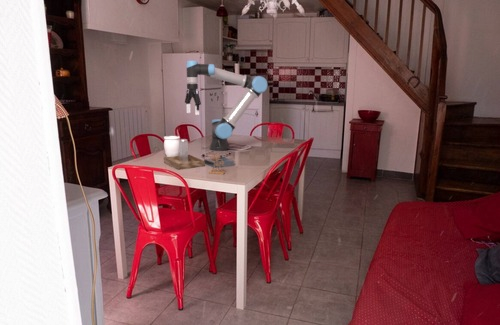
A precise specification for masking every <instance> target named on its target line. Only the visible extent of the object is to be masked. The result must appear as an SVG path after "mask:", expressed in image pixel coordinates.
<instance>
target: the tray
mask: <svg viewBox="0 0 500 325" xmlns="http://www.w3.org/2000/svg"><path fill="white" fill-rule="evenodd" d="M163 163H164V164H166V165H168V166H170V167H172V168H173V169H175V170H178V171H179V170H186V169H194V168H201V167H202V168H203V167H205V165H206V164H205V161H204V159H201V158H199V157H196V156H193V155H191V154H188V163H180V156H179V155H178V156H172V157H167V156H165V157H163Z"/></svg>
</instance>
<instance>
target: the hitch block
mask: <svg viewBox="0 0 500 325" xmlns="http://www.w3.org/2000/svg"><path fill="white" fill-rule="evenodd" d="M219 157H220V158H218V157H216V159H217V160H218V159H221V160H219V161H218V162H217V161H216V159H215V158H214V159H212V160H213V161H215V162H213V161H212V160H211V158H212V157H211V158H210V157H209V158H204V159H203V160H204V161H205V165H206V166H208V167H211V168H213V167H214V165H215V164H216V165H215V167H214V168H213V169H216V168H217V167H218V168H217V169H221V168H226V167H227V168H228V167H234V166H235V160H232V159H231V158H226V157H224V156H219ZM222 160H223V162H224V165H223V164H222V165H221V164H220V167H221V168H220V167H219V166H218V165H219V162H221V163H223V162H222ZM217 163H218V164H217Z"/></svg>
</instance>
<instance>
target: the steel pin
mask: <svg viewBox="0 0 500 325" xmlns="http://www.w3.org/2000/svg"><path fill="white" fill-rule="evenodd" d="M188 147H189V141H188V139H186V138H181V139H180V138H179V155H178V156H180V163H188V155H189V148H188Z"/></svg>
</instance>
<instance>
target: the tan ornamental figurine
mask: <svg viewBox="0 0 500 325" xmlns="http://www.w3.org/2000/svg"><path fill="white" fill-rule="evenodd" d="M220 157H221V155H220V153H218V152H217V153H215V154H213V155H211V156H210V157H209V159H210V158H211V160H212V159H214V158H215V159H216V158H220ZM219 160H221V159H218V160H217V159H216V161H217V162H218V161H219ZM212 161H213V160H212ZM213 162H215V161H213ZM222 162H223V160H222ZM217 164H218V163H217ZM220 164H221V165H222V164H223V165H224V162H223V163H221V162H219V165H218V166H219V167H220ZM215 165H216V164H215ZM215 165H214V167H215ZM214 167H212V169H211V170H210V171H209V172H208V174H210V175H221V176H222V175H225V174H226V171H224V170H223V168H222V167H220V168H218V167H217V168H214Z"/></svg>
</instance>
